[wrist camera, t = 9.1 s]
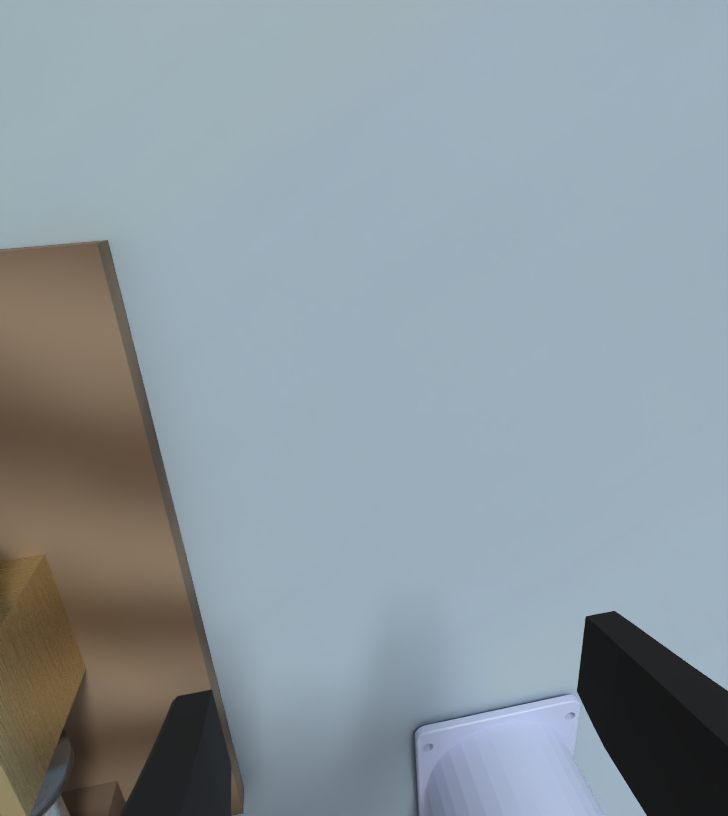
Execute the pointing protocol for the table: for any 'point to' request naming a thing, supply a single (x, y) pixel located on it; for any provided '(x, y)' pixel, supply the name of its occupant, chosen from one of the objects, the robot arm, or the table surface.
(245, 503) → the table surface
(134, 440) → the shaft bench
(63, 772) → the shafts
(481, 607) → the table surface
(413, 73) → the table surface
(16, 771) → the wooden block
